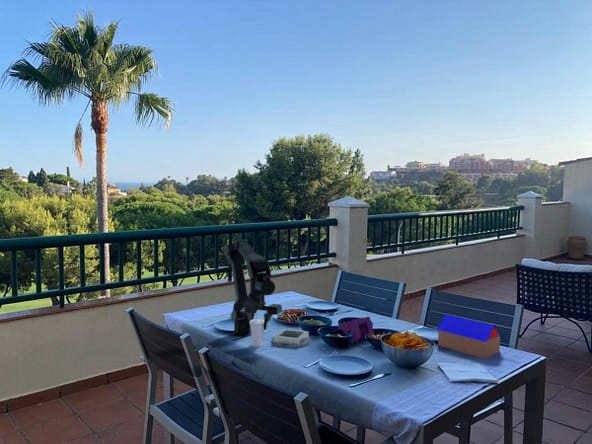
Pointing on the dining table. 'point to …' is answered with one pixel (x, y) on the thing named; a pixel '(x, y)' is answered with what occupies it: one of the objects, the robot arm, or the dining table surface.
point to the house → (469, 336)
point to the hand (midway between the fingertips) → (257, 329)
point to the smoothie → (257, 331)
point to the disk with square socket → (291, 338)
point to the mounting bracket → (357, 328)
